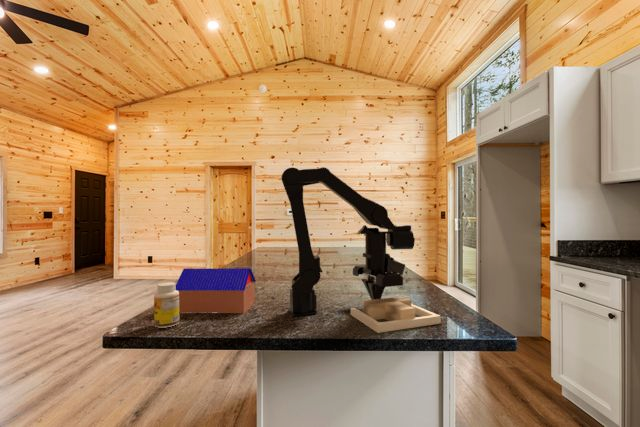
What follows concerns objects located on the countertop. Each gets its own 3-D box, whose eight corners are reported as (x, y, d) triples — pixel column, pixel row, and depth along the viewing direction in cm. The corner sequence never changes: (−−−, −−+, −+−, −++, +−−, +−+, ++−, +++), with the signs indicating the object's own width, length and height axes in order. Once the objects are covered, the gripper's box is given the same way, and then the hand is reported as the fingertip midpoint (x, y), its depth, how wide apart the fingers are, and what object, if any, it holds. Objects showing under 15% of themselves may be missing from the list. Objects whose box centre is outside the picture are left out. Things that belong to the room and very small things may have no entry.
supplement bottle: (155, 323, 80) (154, 282, 80) (179, 320, 82) (179, 280, 82) (153, 331, 75) (152, 287, 75) (179, 327, 77) (178, 284, 77)
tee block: (363, 316, 84) (363, 300, 84) (402, 310, 88) (402, 296, 88) (386, 329, 74) (386, 312, 74) (429, 322, 78) (428, 306, 78)
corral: (377, 332, 72) (377, 324, 72) (350, 314, 85) (350, 308, 85) (440, 323, 78) (440, 315, 78) (406, 307, 91) (406, 301, 91)
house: (244, 315, 87) (244, 272, 87) (173, 314, 88) (173, 272, 88) (256, 303, 99) (255, 265, 99) (193, 302, 100) (192, 265, 100)
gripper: (420, 252, 83) (421, 312, 83) (383, 246, 101) (384, 295, 101) (383, 254, 80) (383, 316, 80) (351, 247, 97) (352, 298, 97)
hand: (376, 305), depth 89 cm, fingers closed
